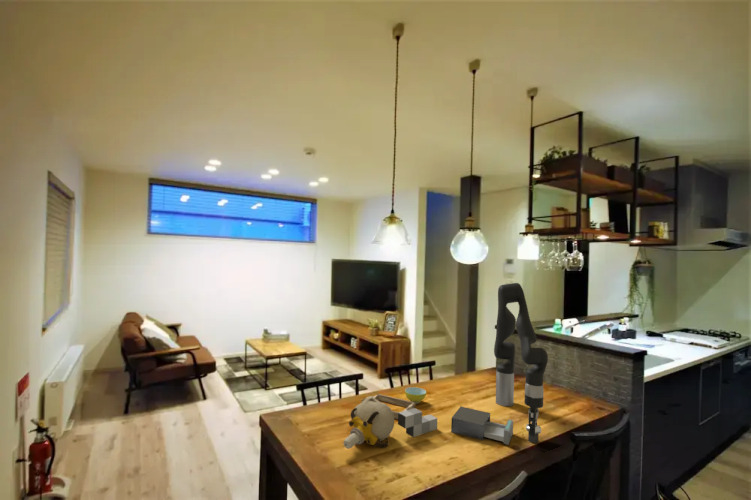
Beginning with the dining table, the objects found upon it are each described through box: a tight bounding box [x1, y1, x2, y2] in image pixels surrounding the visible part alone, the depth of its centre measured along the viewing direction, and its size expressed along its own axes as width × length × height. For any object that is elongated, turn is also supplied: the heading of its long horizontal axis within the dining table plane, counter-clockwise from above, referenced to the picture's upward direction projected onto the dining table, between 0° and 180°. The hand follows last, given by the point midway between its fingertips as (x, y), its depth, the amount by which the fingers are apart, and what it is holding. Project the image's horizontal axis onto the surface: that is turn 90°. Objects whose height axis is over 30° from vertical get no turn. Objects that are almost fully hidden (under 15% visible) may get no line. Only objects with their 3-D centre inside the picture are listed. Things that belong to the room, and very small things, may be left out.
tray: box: [483, 418, 514, 446], centre depth 163 cm, size 12×15×6 cm
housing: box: [450, 406, 491, 441], centre depth 168 cm, size 15×14×6 cm
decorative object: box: [342, 395, 395, 450], centre depth 153 cm, size 15×23×30 cm
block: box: [397, 407, 438, 438], centre depth 164 cm, size 20×5×10 cm, turn 126°
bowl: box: [404, 386, 427, 405], centre depth 198 cm, size 11×12×6 cm
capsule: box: [527, 431, 540, 444], centre depth 159 cm, size 4×4×4 cm
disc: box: [525, 423, 542, 434], centre depth 159 cm, size 6×6×2 cm
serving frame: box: [373, 393, 416, 420], centre depth 188 cm, size 17×22×3 cm
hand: (533, 431), depth 159 cm, fingers open, 8 cm apart
